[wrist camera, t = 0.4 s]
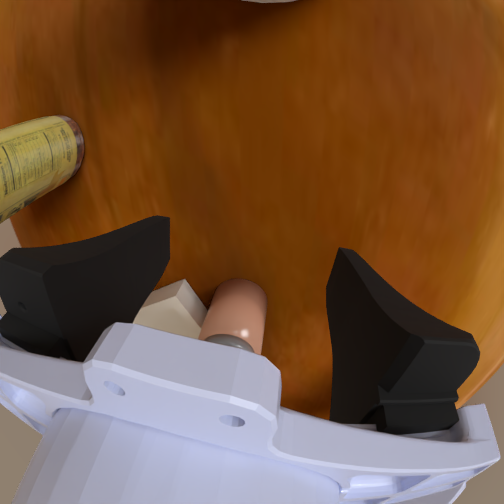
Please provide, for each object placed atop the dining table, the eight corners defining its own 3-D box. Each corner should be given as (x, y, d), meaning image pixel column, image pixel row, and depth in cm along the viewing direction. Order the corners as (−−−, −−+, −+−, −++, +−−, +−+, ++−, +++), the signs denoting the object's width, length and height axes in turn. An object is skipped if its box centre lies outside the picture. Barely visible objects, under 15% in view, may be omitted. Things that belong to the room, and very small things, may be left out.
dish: (277, 398, 33) (276, 414, 31) (189, 409, 38) (185, 423, 36) (184, 278, 26) (175, 295, 23) (94, 313, 30) (84, 327, 28)
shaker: (276, 311, 26) (270, 373, 20) (230, 325, 28) (215, 383, 22) (252, 271, 24) (238, 331, 18) (204, 288, 26) (180, 345, 20)
